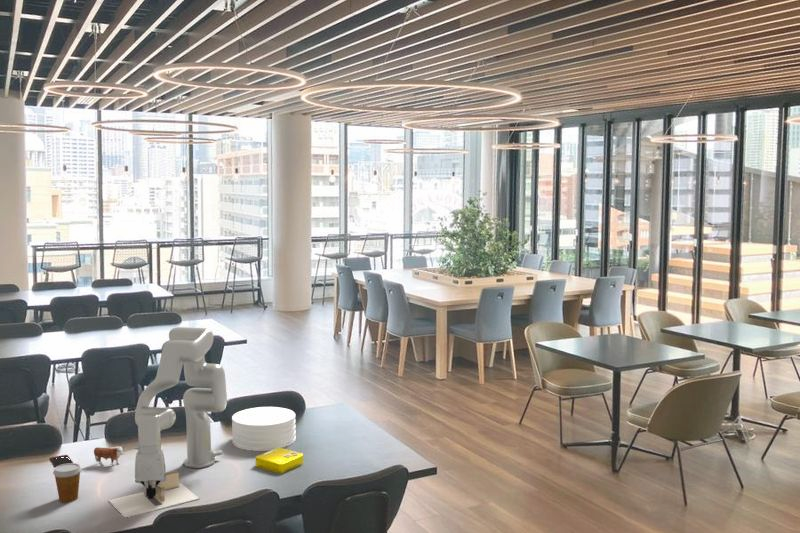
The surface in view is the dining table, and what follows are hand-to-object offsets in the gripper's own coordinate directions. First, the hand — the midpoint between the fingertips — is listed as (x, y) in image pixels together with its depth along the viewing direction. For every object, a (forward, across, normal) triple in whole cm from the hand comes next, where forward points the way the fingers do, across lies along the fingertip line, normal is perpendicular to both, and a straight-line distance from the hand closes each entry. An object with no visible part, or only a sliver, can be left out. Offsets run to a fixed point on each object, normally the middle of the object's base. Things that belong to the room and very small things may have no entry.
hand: (151, 497), depth 283 cm
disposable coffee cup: (+3, -31, +9) cm, 33 cm away
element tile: (+3, +45, +36) cm, 57 cm away
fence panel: (+2, +1, +4) cm, 5 cm away
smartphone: (+3, -45, +49) cm, 66 cm away
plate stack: (+3, +37, +67) cm, 77 cm away
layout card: (+3, 0, +4) cm, 5 cm away
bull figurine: (+3, -24, +43) cm, 50 cm away
